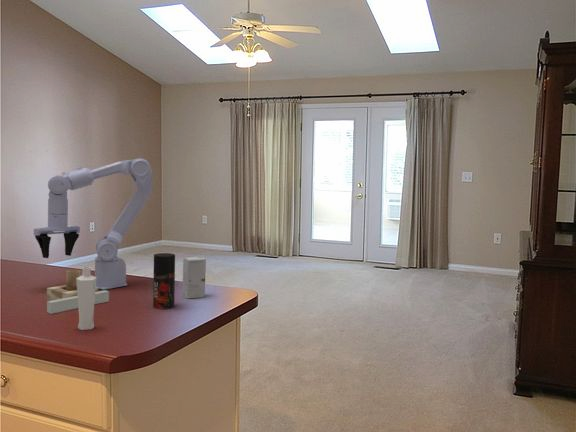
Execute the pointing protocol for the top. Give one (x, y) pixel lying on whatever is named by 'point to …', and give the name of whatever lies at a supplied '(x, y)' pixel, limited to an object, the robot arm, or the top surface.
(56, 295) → the socket block
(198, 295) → the skincare box
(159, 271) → the deodorant
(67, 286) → the oak dowel
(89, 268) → the white pump bottle
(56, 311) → the backstop wall
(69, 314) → the top surface
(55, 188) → the robot arm
